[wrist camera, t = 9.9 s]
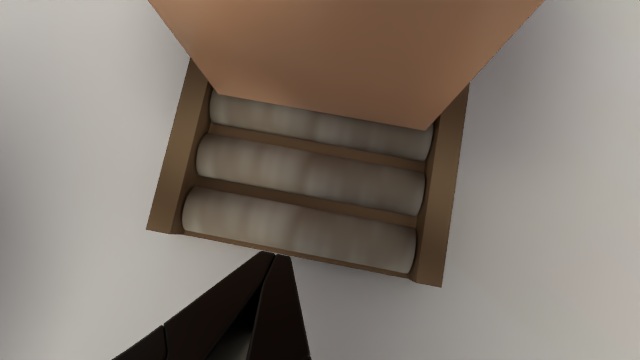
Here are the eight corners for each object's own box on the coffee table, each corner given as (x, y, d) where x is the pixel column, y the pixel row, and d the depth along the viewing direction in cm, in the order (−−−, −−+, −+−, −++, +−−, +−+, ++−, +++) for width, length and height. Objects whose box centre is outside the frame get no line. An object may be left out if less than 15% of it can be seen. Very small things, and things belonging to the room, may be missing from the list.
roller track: (424, 280, 17) (477, 302, 11) (171, 230, 18) (92, 226, 12) (466, -4, 19) (528, -111, 13) (238, -40, 20) (200, -159, 14)
